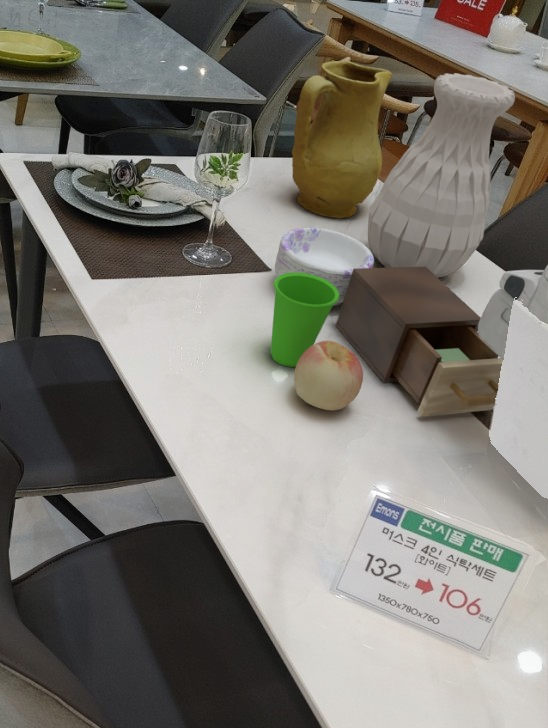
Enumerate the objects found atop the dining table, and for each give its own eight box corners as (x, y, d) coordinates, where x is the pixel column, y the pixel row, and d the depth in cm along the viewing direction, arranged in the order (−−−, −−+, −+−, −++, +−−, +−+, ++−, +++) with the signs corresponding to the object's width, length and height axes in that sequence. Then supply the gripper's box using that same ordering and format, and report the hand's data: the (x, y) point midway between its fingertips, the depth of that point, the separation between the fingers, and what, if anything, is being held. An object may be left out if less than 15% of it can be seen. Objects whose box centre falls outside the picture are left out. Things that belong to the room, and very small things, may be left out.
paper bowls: (356, 325, 121) (371, 279, 115) (262, 302, 122) (273, 255, 117) (364, 284, 132) (378, 239, 126) (278, 263, 133) (288, 218, 128)
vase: (404, 301, 129) (477, 108, 108) (333, 247, 141) (386, 65, 120) (487, 285, 137) (569, 104, 116) (413, 236, 149) (475, 64, 128)
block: (446, 375, 109) (458, 348, 106) (463, 393, 106) (476, 366, 103) (419, 377, 108) (431, 349, 105) (436, 396, 105) (448, 368, 102)
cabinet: (456, 377, 113) (483, 319, 107) (382, 383, 110) (405, 323, 103) (404, 322, 124) (425, 266, 117) (335, 325, 120) (353, 268, 113)
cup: (244, 351, 111) (260, 281, 103) (285, 334, 116) (303, 266, 108) (290, 382, 107) (310, 311, 99) (330, 363, 112) (352, 294, 104)
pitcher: (376, 227, 149) (413, 83, 132) (280, 217, 149) (306, 73, 132) (365, 196, 162) (398, 61, 145) (277, 187, 162) (300, 52, 145)
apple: (303, 376, 108) (318, 326, 103) (361, 401, 106) (379, 351, 100) (277, 403, 103) (291, 352, 97) (337, 430, 100) (356, 379, 94)
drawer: (509, 429, 104) (536, 380, 98) (438, 436, 100) (461, 387, 95) (436, 352, 116) (456, 306, 111) (371, 356, 113) (388, 309, 107)
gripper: (659, 359, 79) (589, 461, 88) (538, 264, 92) (489, 362, 102) (612, 362, 77) (546, 466, 87) (495, 265, 90) (449, 364, 100)
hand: (514, 409), depth 94 cm, fingers closed
